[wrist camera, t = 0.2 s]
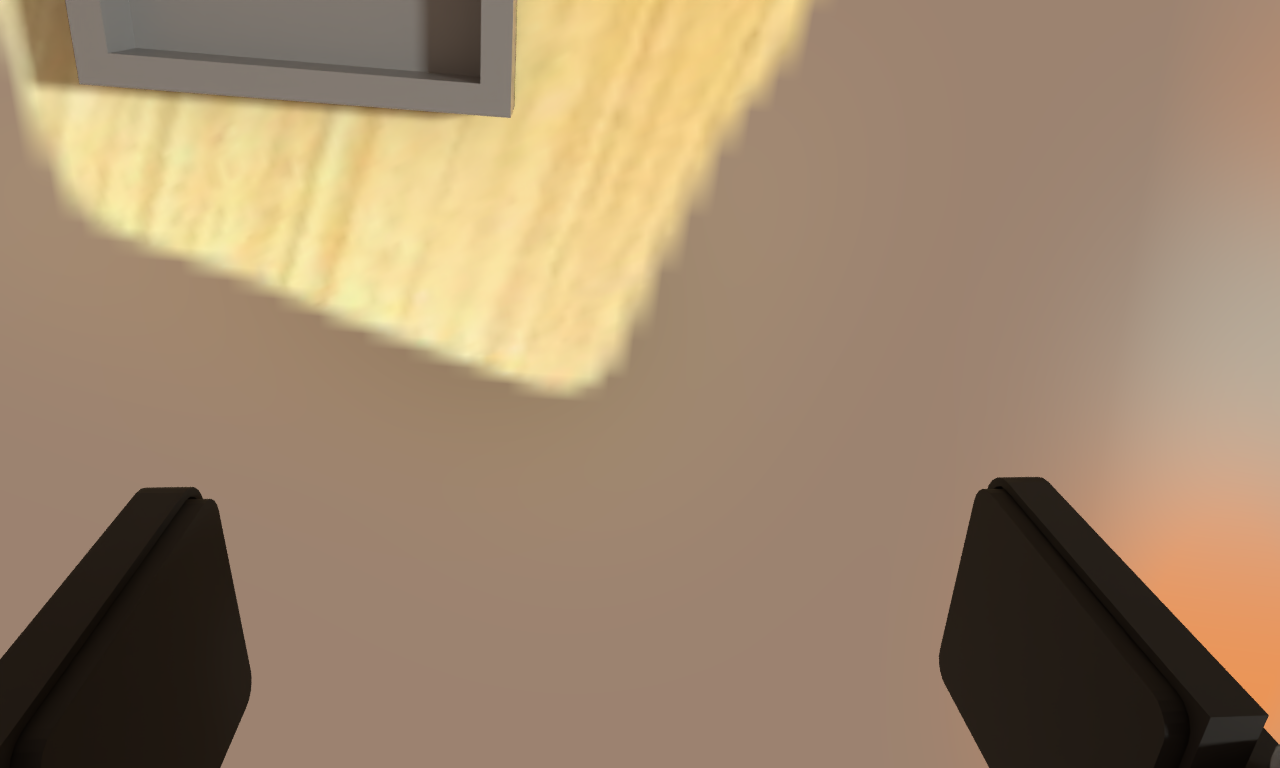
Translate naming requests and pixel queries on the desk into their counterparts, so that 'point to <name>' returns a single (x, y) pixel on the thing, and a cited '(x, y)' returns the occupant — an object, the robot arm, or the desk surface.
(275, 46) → the tray
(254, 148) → the desk surface
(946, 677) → the robot arm
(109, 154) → the desk surface
